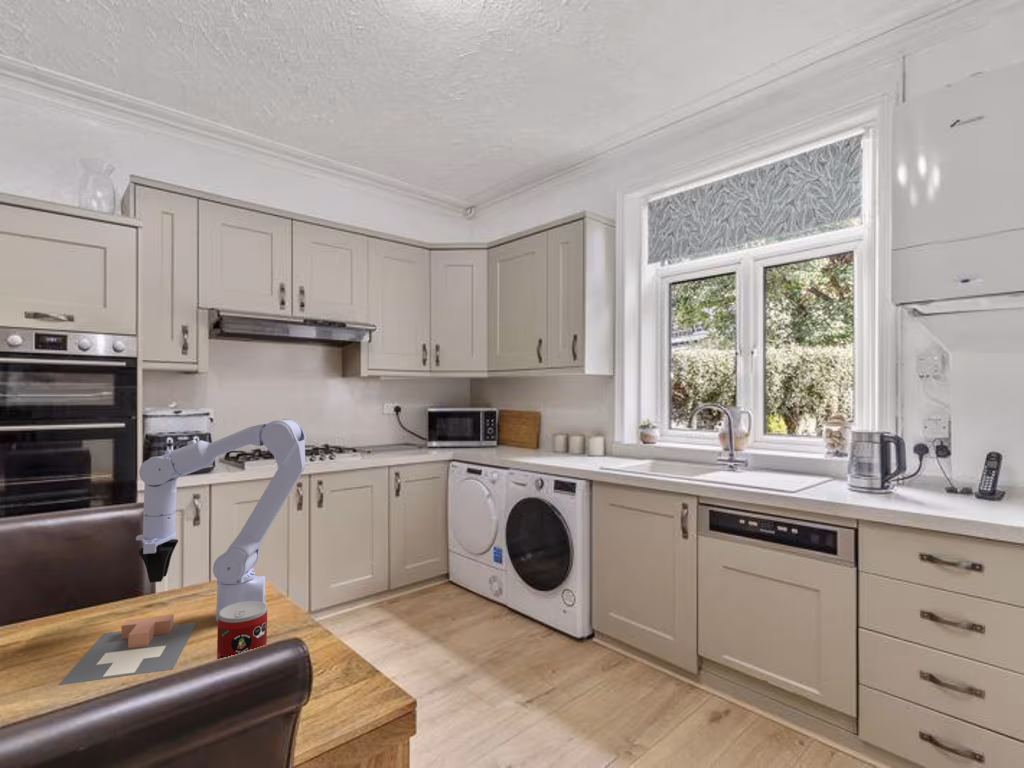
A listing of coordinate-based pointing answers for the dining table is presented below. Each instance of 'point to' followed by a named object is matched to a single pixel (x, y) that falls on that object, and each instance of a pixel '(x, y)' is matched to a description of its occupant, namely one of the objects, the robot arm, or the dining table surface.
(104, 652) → the board
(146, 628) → the t block
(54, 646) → the dining table surface
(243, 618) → the canned food
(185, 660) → the dining table surface
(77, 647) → the dining table surface
